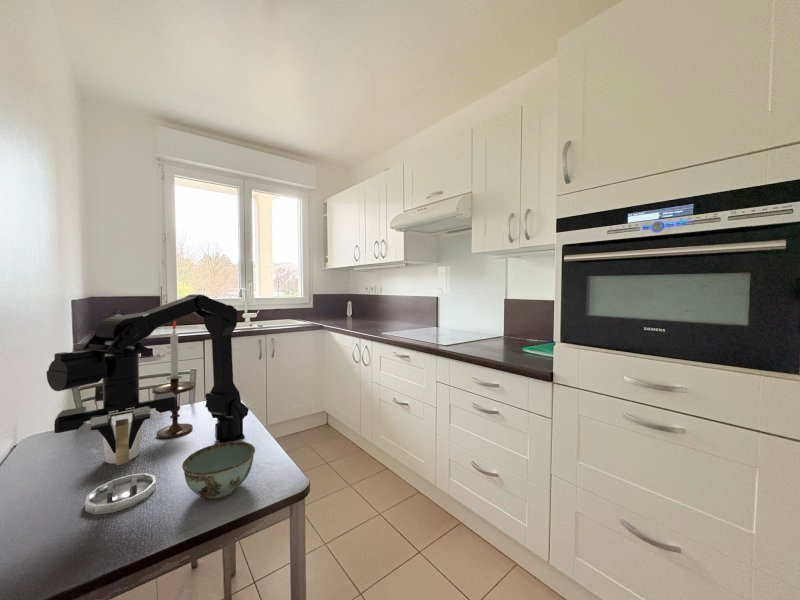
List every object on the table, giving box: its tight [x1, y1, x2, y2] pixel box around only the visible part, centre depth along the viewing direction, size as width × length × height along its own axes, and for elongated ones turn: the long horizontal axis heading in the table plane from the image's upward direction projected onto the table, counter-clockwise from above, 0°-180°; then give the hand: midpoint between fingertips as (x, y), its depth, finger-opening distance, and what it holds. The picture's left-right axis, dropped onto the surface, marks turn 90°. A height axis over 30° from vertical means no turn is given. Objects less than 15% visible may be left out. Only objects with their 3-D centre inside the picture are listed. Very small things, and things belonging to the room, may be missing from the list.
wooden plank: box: [115, 418, 130, 466], centre depth 66 cm, size 2×4×8 cm, turn 41°
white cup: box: [102, 413, 143, 465], centre depth 82 cm, size 8×8×10 cm
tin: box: [84, 472, 157, 515], centre depth 66 cm, size 11×11×2 cm
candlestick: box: [151, 320, 197, 440], centre depth 97 cm, size 11×11×35 cm
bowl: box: [181, 440, 256, 502], centre depth 68 cm, size 14×13×8 cm
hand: (122, 450), depth 66 cm, fingers closed on wooden plank, 2 cm apart
